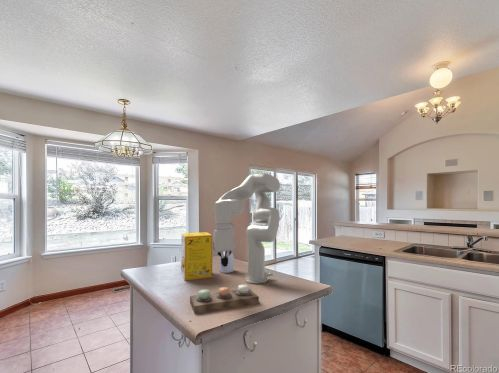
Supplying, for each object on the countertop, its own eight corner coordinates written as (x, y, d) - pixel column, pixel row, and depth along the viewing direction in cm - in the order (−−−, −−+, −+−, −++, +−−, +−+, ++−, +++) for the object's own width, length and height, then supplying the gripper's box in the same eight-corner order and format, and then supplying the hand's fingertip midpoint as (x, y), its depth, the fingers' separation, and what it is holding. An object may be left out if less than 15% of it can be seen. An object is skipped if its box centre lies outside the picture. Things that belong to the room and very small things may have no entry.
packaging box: (180, 273, 163) (181, 233, 164) (206, 270, 169) (206, 232, 170) (184, 280, 148) (184, 236, 149) (212, 277, 153) (212, 235, 155)
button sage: (208, 294, 114) (208, 288, 114) (210, 298, 110) (210, 292, 110) (197, 295, 112) (197, 290, 112) (199, 299, 108) (199, 293, 108)
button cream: (246, 289, 121) (246, 284, 121) (250, 292, 116) (250, 287, 116) (236, 290, 119) (236, 285, 119) (240, 294, 114) (240, 288, 114)
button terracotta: (227, 291, 117) (227, 286, 117) (231, 295, 113) (231, 289, 113) (217, 293, 116) (217, 287, 116) (220, 296, 111) (220, 291, 111)
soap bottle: (216, 271, 166) (216, 233, 167) (225, 268, 173) (225, 231, 175) (227, 273, 161) (227, 234, 162) (236, 270, 168) (236, 232, 170)
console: (248, 294, 125) (248, 286, 125) (258, 303, 113) (258, 295, 114) (190, 302, 114) (190, 294, 115) (194, 313, 103) (194, 304, 103)
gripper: (235, 224, 128) (236, 261, 128) (206, 227, 122) (207, 266, 122) (241, 226, 121) (242, 265, 121) (210, 229, 115) (211, 270, 115)
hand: (224, 265), depth 121 cm, fingers closed
